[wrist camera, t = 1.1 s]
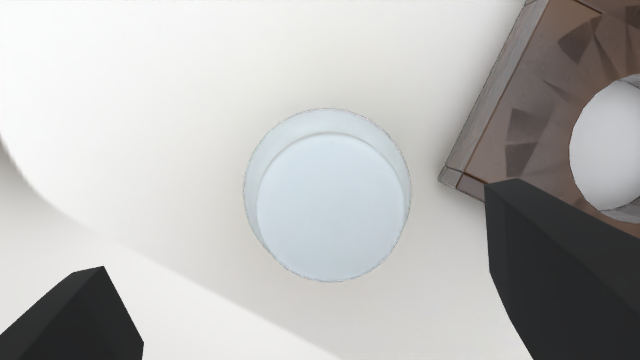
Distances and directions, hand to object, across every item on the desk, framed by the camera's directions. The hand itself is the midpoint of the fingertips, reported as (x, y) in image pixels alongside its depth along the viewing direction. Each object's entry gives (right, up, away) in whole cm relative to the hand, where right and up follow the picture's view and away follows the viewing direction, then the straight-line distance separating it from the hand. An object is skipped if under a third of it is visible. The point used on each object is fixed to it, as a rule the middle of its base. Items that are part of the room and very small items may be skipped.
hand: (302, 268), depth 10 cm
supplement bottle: (0, +2, +14) cm, 14 cm away
